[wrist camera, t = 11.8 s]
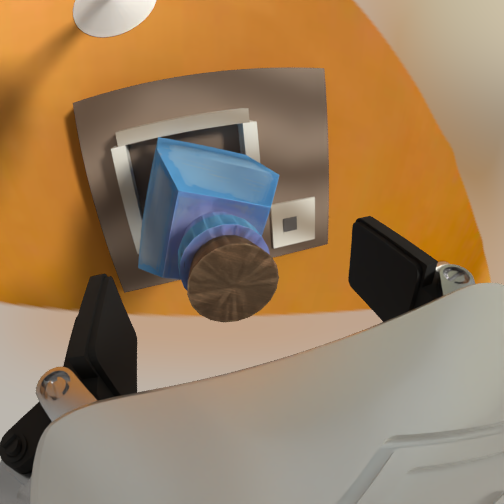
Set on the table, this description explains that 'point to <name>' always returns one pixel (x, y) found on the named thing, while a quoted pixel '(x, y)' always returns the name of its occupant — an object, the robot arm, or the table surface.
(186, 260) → the perfume bottle
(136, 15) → the champagne flute
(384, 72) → the table surface
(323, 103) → the board
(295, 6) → the table surface
